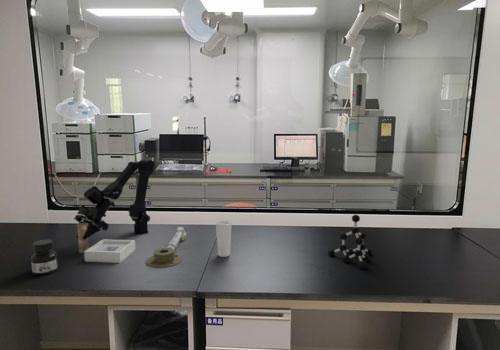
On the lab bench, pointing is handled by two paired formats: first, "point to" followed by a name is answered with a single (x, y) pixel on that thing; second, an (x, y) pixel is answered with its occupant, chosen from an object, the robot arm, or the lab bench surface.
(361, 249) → the molecular model
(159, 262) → the flange
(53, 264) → the ink bottle
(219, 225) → the drinking glass
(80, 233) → the peg
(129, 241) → the box
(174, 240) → the light grey piece
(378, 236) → the lab bench surface
